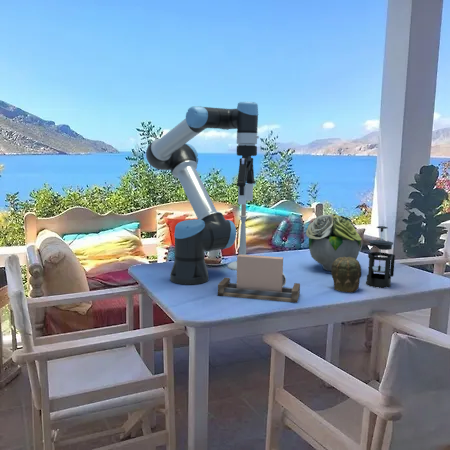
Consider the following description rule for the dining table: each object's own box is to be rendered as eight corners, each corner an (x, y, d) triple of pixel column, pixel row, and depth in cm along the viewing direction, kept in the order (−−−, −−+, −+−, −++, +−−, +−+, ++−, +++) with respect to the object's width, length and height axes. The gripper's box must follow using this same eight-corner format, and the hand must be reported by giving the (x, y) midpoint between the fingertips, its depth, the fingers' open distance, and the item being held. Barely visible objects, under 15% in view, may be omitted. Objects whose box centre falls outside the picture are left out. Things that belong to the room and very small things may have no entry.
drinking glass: (278, 283, 193) (282, 291, 178) (262, 278, 193) (265, 286, 178) (284, 267, 192) (288, 274, 177) (268, 262, 192) (271, 269, 177)
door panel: (236, 291, 172) (237, 256, 170) (238, 289, 175) (238, 254, 173) (280, 295, 168) (282, 259, 166) (282, 292, 171) (283, 257, 169)
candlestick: (256, 264, 218) (257, 198, 213) (257, 271, 205) (259, 201, 200) (228, 263, 218) (229, 197, 213) (227, 270, 205) (228, 200, 201)
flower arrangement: (292, 268, 211) (294, 213, 207) (327, 260, 227) (329, 209, 224) (340, 280, 193) (343, 220, 189) (374, 270, 209) (377, 215, 205)
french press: (374, 289, 181) (378, 229, 178) (359, 282, 190) (362, 225, 186) (399, 286, 185) (404, 227, 182) (383, 280, 194) (387, 223, 190)
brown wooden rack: (217, 295, 170) (217, 284, 170) (224, 287, 180) (224, 277, 179) (297, 302, 164) (297, 291, 163) (299, 294, 173) (300, 283, 173)
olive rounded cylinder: (355, 284, 187) (356, 254, 185) (364, 293, 176) (366, 261, 174) (327, 284, 186) (328, 254, 184) (334, 293, 176) (336, 261, 174)
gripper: (250, 144, 164) (249, 206, 167) (262, 145, 188) (261, 199, 191) (229, 144, 166) (228, 205, 169) (243, 145, 190) (242, 198, 193)
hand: (245, 202), depth 180 cm, fingers open, 13 cm apart
